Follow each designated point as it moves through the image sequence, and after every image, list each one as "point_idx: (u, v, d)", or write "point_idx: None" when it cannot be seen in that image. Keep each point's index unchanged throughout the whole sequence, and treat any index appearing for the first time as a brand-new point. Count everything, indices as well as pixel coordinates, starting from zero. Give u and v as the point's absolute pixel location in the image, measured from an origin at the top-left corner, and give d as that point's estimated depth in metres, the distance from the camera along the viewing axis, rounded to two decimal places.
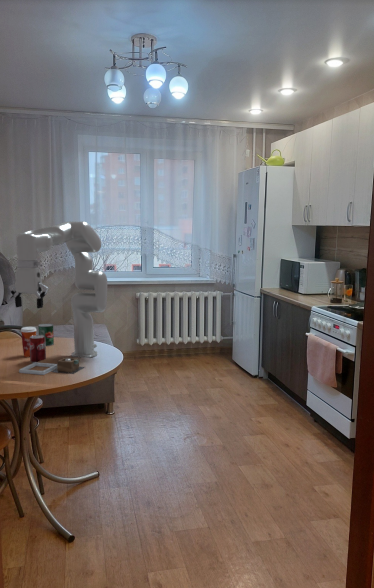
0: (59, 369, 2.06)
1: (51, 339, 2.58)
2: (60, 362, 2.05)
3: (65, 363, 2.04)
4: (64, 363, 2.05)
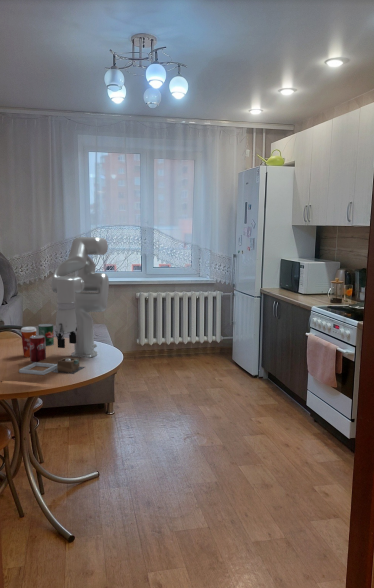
0: (59, 369, 2.06)
1: (51, 339, 2.58)
2: (60, 362, 2.05)
3: (65, 363, 2.04)
4: (64, 363, 2.05)
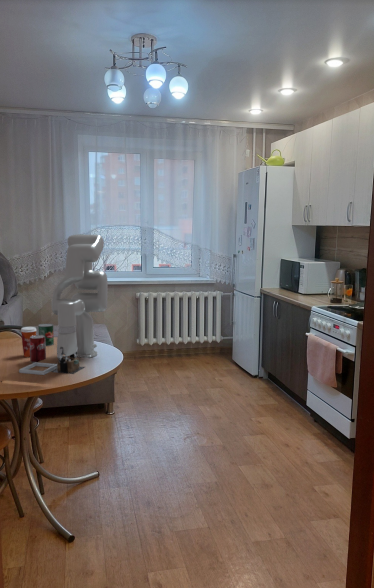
0: (59, 369, 2.06)
1: (51, 339, 2.58)
2: None
3: None
4: None
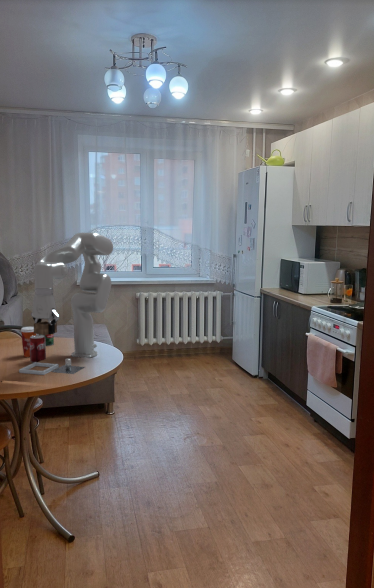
0: (47, 333, 2.02)
1: (51, 339, 2.58)
2: (47, 325, 2.02)
3: None
4: None
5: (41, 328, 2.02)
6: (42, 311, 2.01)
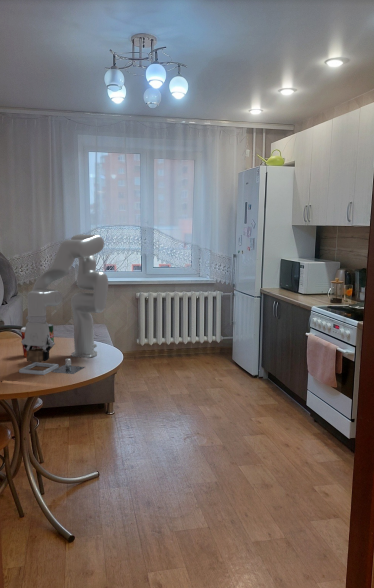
0: (42, 360, 2.04)
1: (51, 339, 2.58)
2: (42, 352, 2.04)
3: None
4: None
5: (36, 356, 2.03)
6: (37, 338, 2.03)
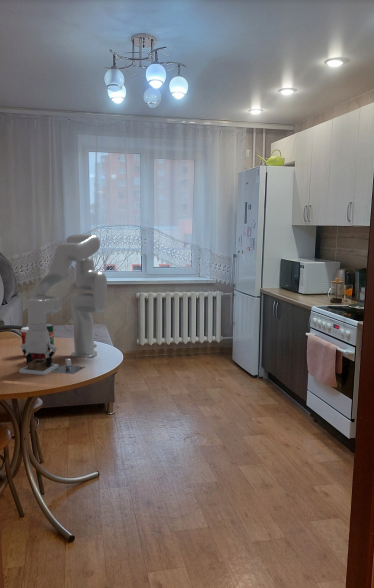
0: None
1: (51, 339, 2.58)
2: (43, 364, 2.05)
3: None
4: None
5: (37, 367, 2.04)
6: (37, 346, 2.03)
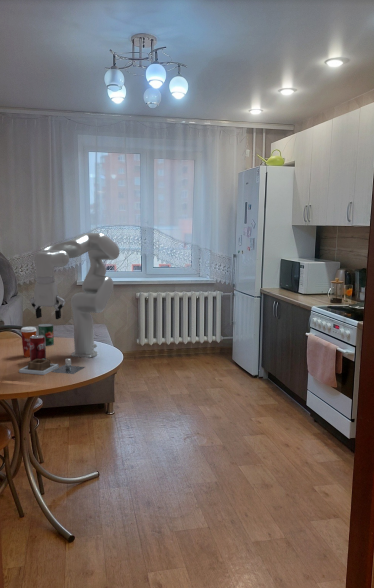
0: None
1: (51, 339, 2.58)
2: (43, 364, 2.05)
3: (46, 363, 2.07)
4: (46, 363, 2.07)
5: (37, 367, 2.04)
6: (46, 299, 2.06)
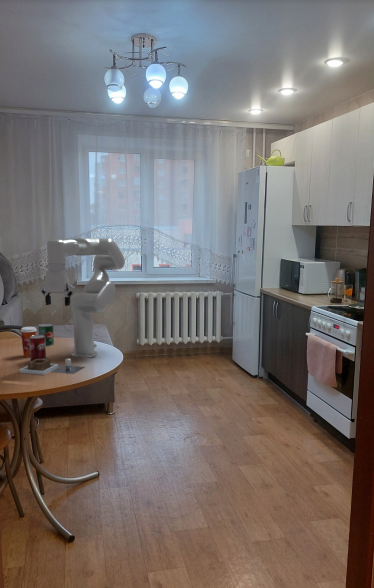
0: None
1: (51, 339, 2.58)
2: (43, 364, 2.05)
3: (46, 363, 2.07)
4: (46, 363, 2.07)
5: (37, 367, 2.04)
6: (56, 285, 2.11)
